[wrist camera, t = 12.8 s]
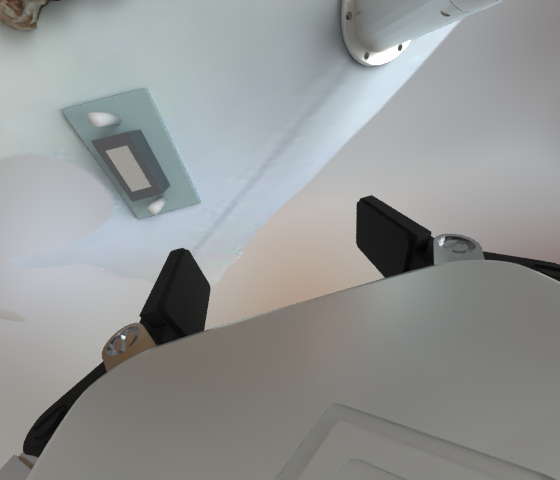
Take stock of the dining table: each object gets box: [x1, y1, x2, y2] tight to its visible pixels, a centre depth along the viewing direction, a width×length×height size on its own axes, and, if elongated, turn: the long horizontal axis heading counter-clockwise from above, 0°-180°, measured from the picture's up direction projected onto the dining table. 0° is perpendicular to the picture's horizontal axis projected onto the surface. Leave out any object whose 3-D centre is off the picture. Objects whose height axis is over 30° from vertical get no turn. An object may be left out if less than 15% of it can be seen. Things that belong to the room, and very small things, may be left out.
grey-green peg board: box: [61, 88, 201, 220], centre depth 31 cm, size 12×18×6 cm, turn 13°
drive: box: [91, 129, 171, 202], centre depth 31 cm, size 5×9×5 cm, turn 13°
